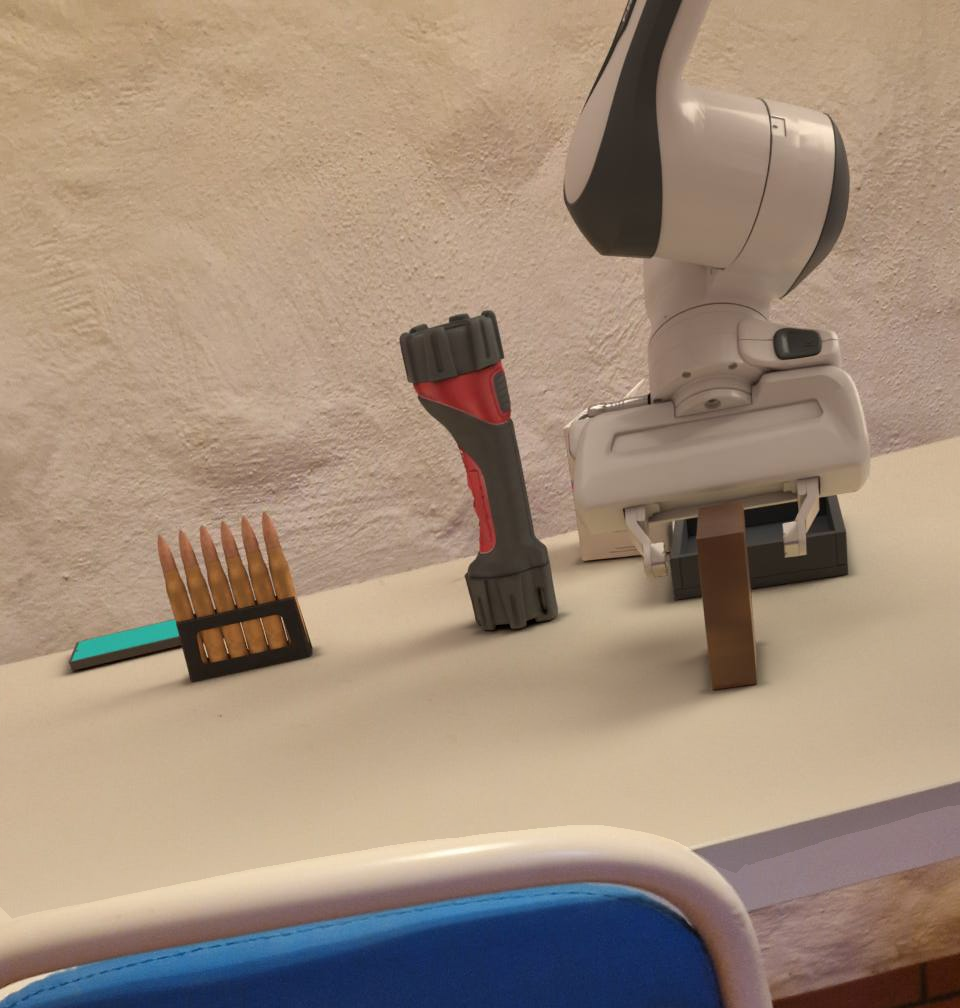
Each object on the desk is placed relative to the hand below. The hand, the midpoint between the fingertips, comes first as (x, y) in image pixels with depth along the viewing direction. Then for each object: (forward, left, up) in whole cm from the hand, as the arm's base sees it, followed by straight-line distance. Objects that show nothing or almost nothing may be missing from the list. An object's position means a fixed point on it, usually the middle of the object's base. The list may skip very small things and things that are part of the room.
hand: (725, 563), depth 96 cm
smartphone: (+55, -26, -6) cm, 61 cm away
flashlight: (+19, -16, -7) cm, 26 cm away
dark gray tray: (-2, -23, -6) cm, 24 cm away
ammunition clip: (+41, -14, -7) cm, 44 cm away
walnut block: (0, +3, -6) cm, 7 cm away
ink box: (+9, -34, -7) cm, 36 cm away
